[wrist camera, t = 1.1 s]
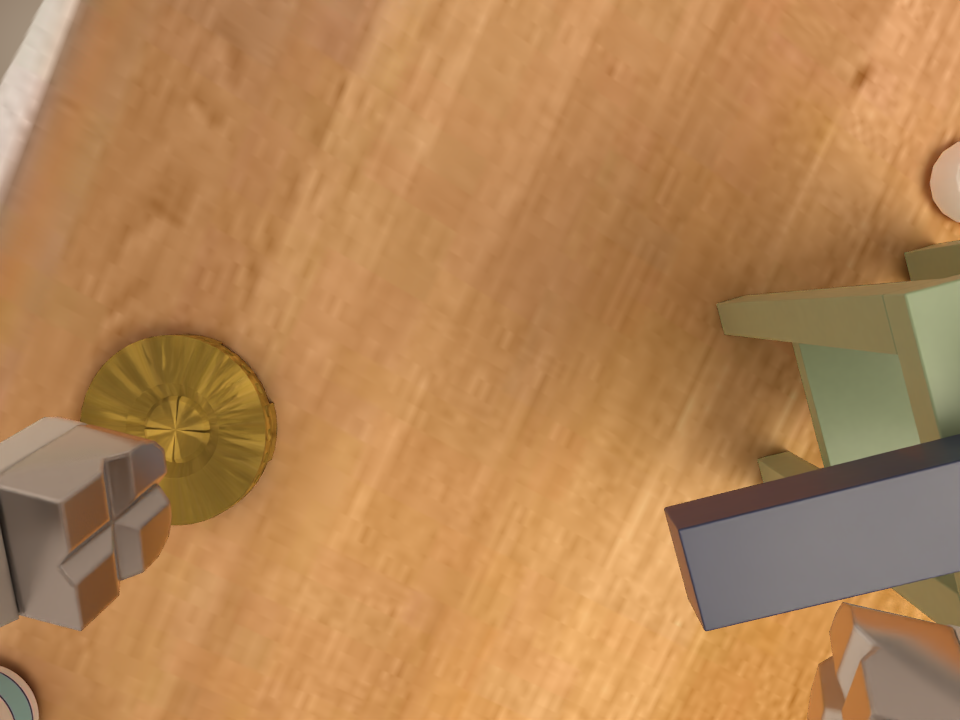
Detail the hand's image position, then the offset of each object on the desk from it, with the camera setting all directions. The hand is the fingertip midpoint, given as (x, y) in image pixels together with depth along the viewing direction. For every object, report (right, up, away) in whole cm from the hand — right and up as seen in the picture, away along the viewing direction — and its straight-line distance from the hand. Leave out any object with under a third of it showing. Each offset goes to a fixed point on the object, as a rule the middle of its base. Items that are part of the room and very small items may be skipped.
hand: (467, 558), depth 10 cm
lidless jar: (+30, +13, +39) cm, 51 cm away
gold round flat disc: (-19, -2, +44) cm, 48 cm away
